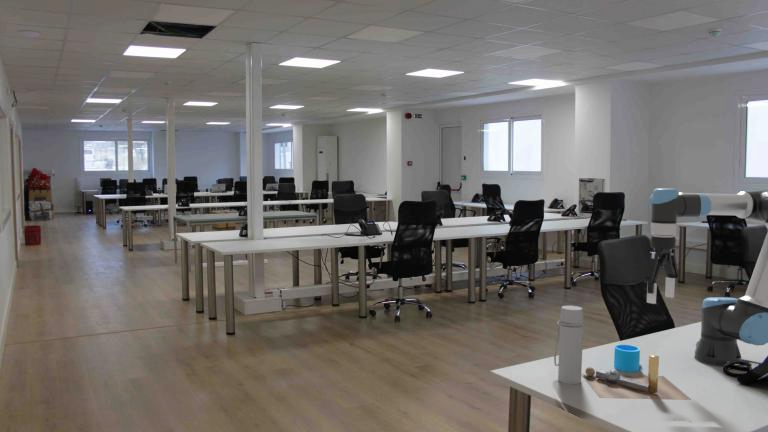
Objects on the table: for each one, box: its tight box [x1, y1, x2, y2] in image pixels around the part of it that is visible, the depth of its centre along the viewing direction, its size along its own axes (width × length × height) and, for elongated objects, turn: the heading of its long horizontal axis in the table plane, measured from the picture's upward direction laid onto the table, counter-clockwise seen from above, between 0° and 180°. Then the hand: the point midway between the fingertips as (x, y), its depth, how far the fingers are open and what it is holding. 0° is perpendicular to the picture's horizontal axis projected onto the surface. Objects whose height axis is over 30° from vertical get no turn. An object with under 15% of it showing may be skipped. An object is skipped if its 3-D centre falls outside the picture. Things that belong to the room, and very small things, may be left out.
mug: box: [613, 344, 641, 372], centre depth 221 cm, size 12×8×8 cm
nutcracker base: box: [581, 366, 691, 401], centre depth 202 cm, size 27×21×4 cm
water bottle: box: [553, 305, 584, 385], centre depth 207 cm, size 9×8×25 cm
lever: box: [595, 354, 660, 393], centre depth 201 cm, size 20×4×11 cm, turn 42°
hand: (660, 300), depth 210 cm, fingers open, 13 cm apart
